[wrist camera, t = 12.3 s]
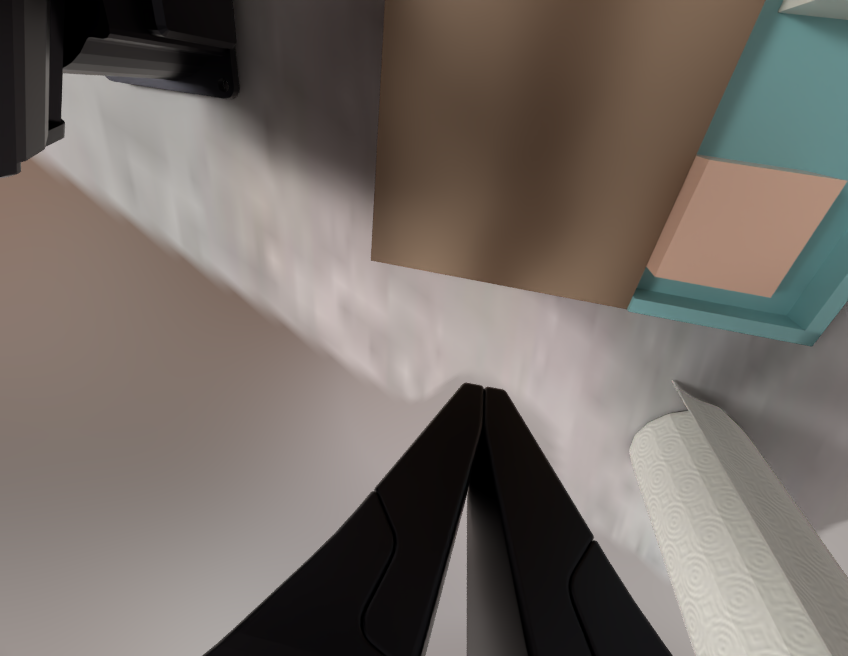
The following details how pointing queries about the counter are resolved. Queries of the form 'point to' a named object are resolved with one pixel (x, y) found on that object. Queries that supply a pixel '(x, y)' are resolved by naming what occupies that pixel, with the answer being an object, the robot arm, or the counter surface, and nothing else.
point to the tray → (784, 147)
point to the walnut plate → (544, 134)
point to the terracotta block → (741, 224)
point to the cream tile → (816, 8)
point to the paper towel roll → (736, 541)
